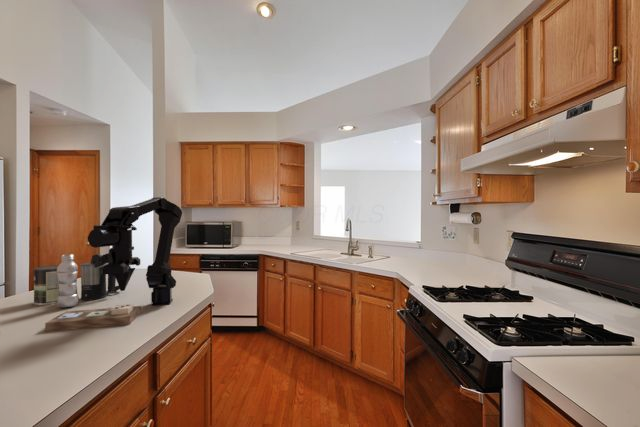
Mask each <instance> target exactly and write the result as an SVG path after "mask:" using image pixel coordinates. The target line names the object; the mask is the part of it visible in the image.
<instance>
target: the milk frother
mask: <svg viewBox="0 0 640 427" xmlns="http://www.w3.org/2000/svg"><path fill="white" fill-rule="evenodd" d="M104 265H106V264H104ZM104 265H102V266H99V267H97V268H95V267H94V265H93V264H91V262H86V263H85V262H84V263H80V264H79V266H80V285H81V286H80V289H81V290H80V291H81V292H80V298H79V300H81V301H94V300H99V299H102V298H106V297H107V296H108V294H111V293H113V292H114V293H116V292H117V291H120V288H119V285H116V283H117V280H116V277H115V276H114V275H112V274H103V275H102V274H101V268H102V267H103V266H104Z"/></svg>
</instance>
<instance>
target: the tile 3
mask: <svg viewBox="0 0 640 427" xmlns="http://www.w3.org/2000/svg"><path fill="white" fill-rule="evenodd" d="M133 307H134V303H131V304H119V305H116V306H114V307H112V308H113V309H111V315H119V314H129V313H130V312H132V311H133Z"/></svg>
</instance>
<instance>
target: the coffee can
mask: <svg viewBox="0 0 640 427" xmlns="http://www.w3.org/2000/svg"><path fill="white" fill-rule="evenodd" d="M59 265H60V264H59ZM59 265H58V264H57V265H56V264H55V265H48V266H47V265H44V266H39V267H38V266H37V267H34V268H33V270H32V271H33V305H35V306H48V305H54V304H57V298H58V293H59V280H58V275H57V268H58V266H59Z"/></svg>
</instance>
